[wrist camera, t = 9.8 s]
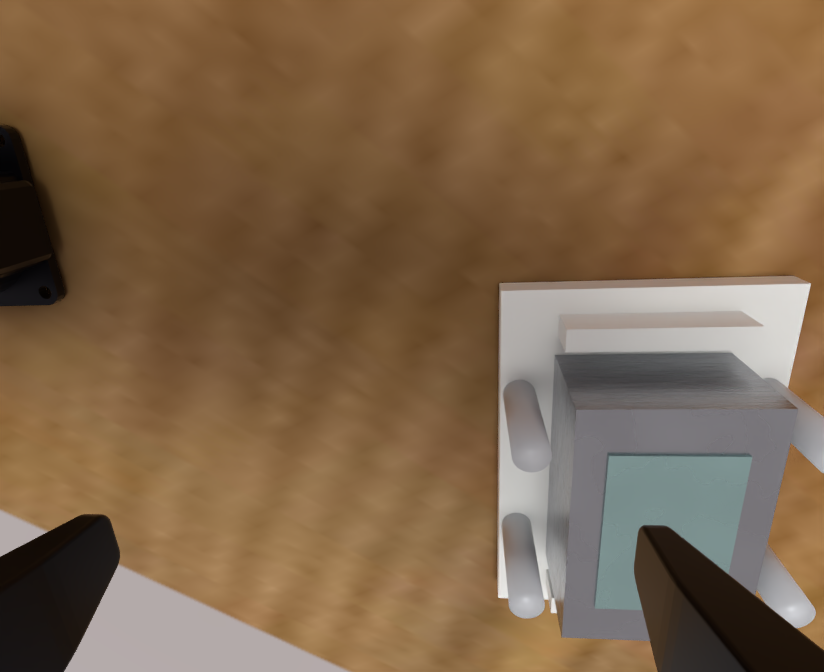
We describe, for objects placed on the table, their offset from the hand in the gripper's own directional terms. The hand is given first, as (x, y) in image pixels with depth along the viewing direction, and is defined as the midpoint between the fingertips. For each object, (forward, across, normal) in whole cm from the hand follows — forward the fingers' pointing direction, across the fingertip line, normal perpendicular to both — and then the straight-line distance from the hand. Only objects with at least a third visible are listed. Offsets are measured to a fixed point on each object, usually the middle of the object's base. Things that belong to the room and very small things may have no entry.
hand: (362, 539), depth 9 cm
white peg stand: (+12, -8, +6) cm, 16 cm away
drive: (+11, -8, +6) cm, 15 cm away
